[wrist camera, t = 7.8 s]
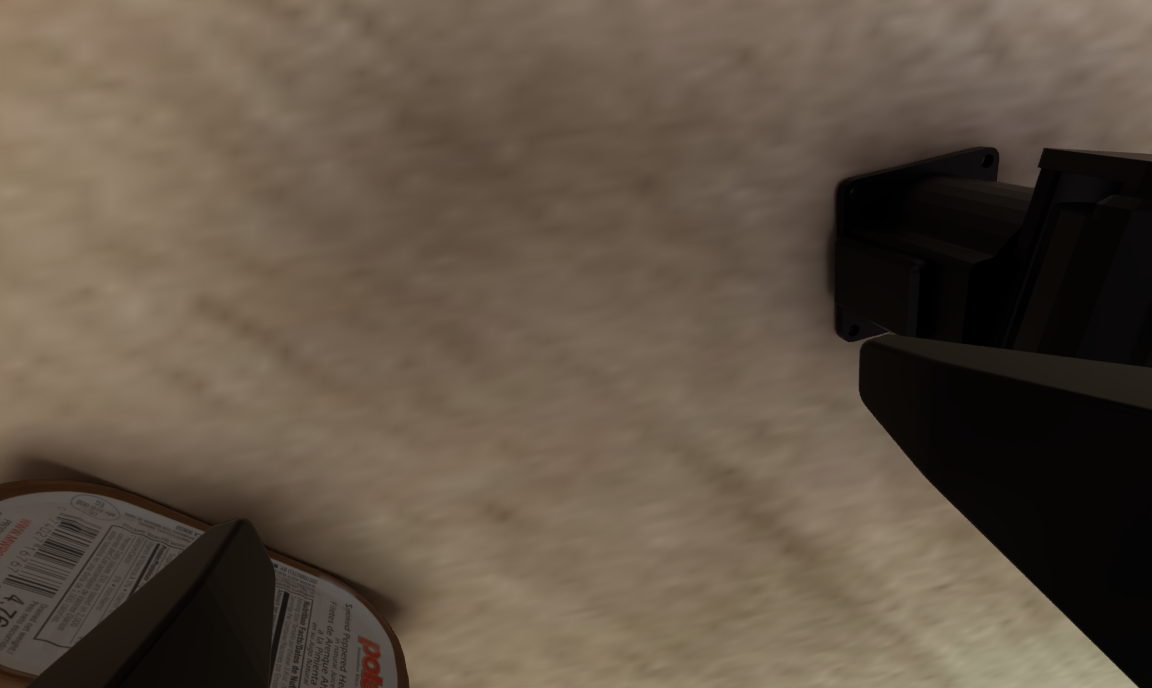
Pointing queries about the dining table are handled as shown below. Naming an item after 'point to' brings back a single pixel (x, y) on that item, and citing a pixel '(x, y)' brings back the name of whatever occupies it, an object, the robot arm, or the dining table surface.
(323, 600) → the tin
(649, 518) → the dining table surface
